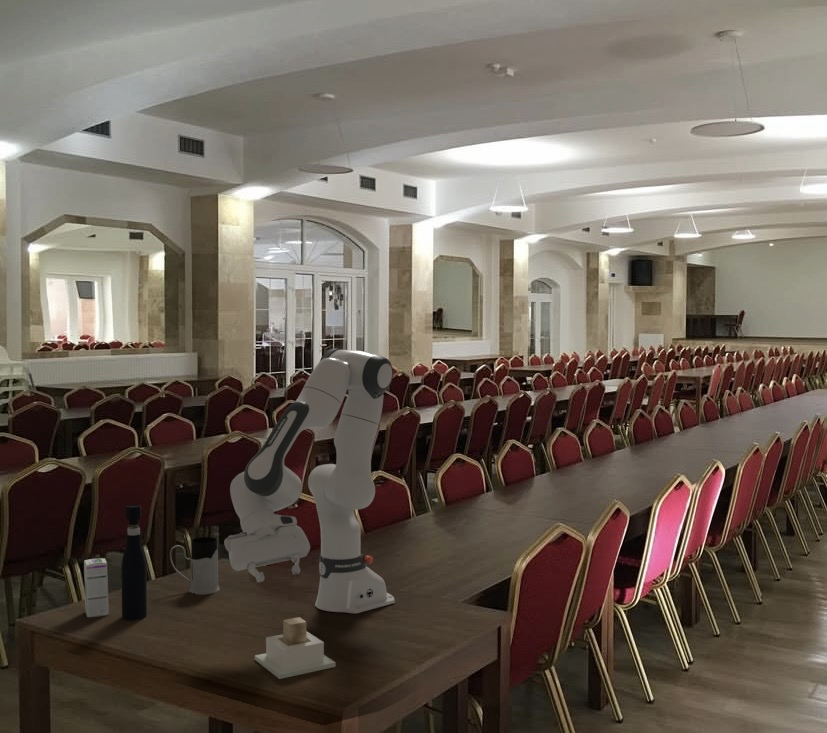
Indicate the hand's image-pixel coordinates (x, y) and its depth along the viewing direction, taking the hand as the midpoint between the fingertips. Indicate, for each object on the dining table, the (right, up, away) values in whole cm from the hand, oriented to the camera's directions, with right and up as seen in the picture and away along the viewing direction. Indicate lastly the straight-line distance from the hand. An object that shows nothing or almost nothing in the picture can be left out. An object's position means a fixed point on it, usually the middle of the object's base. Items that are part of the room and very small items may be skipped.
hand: (279, 576), depth 226 cm
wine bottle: (-42, -16, +23) cm, 51 cm away
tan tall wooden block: (+5, -17, -11) cm, 20 cm away
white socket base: (+5, -18, -10) cm, 21 cm away
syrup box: (-53, -16, +26) cm, 62 cm away
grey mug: (-32, -15, +48) cm, 59 cm away
